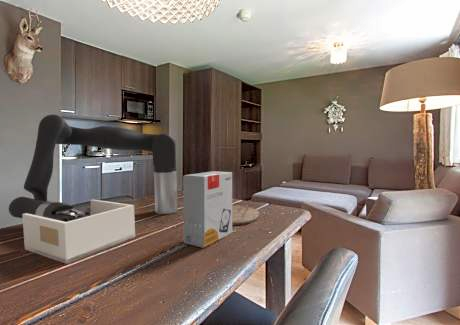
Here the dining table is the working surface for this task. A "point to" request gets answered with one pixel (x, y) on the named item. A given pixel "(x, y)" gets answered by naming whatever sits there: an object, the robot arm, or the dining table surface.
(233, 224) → the trivet
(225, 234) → the hard drive box
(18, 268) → the dining table surface
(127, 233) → the carton
